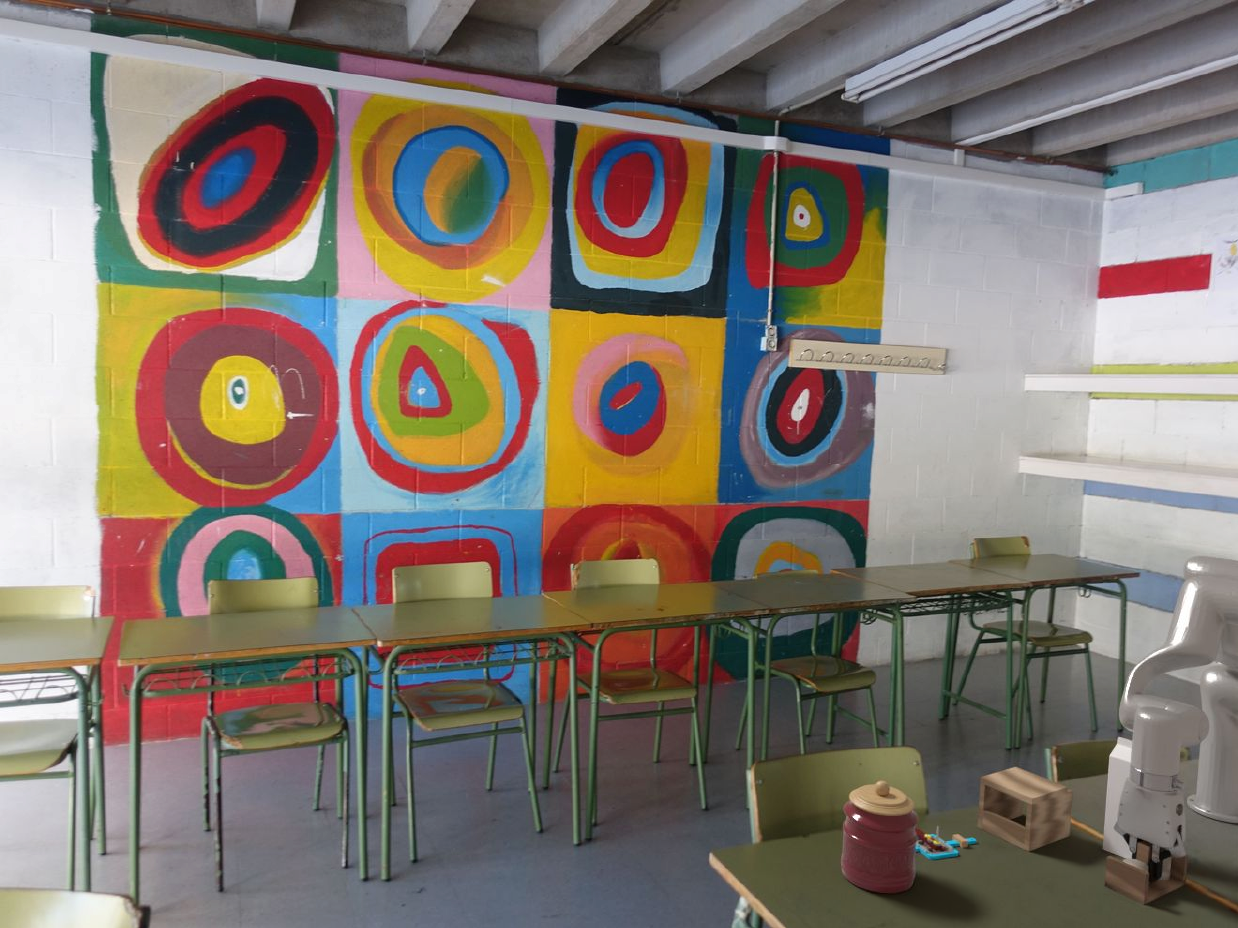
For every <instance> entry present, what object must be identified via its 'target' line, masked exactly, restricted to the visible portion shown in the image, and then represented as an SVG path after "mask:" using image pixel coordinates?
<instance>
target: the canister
mask: <svg viewBox="0 0 1238 928" xmlns="http://www.w3.org/2000/svg"><path fill="white" fill-rule="evenodd" d="M848 798H849V800H848V801H847V802H846V803H845V804H844V805H843V812H844V814H845V816H846V817H845V820H844V821H843V824H842V830H843V837H842V853H841V856H840V865H841V866H840V867H841V873H842V875H843V876H844V878H846V880H848V881H849V882H850V883H851V884H853V885H855V887H858V888H861V889H863V890H866V891H869V892H874V893H879V894H898V893H901V892H904V891H907V890H909V889H910V888H911V887H912V886H913V884H914V880H915V878H916V866H915V865H916V853H917V852H916V842H917V834H916V832H915V829H916V826H917V825H918V824H919V815H918V814H917V813H916V812H915V810H914V809H915V803H914V801H913V799H911V798H910V797H908V795H906V794H905V793H904V792H903V791H902V790H900V789H898V788H895V787H893V786H890V785H889V783H888V782H887V781H885V780H879V781H877V782H876V783H874V784H872V783H871V784H866V785H865V784H864V785H862V786H860V787H858V788H856V789H853V790H852V791H851V792H850V793H849V795H848Z"/></svg>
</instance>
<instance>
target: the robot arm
mask: <svg viewBox="0 0 1238 928" xmlns="http://www.w3.org/2000/svg"><path fill="white" fill-rule="evenodd" d="M1183 575H1184V580H1185V581H1184V582H1183V583H1182V585H1181V587H1180V590H1179V594H1178V597H1177V600H1176V605H1175V607H1174V611H1173V615H1172V618H1171V622H1170V625H1169V628H1168V629H1169V630H1168V632H1167V636H1166V640H1165V642H1164V643H1163V644H1162V645H1161V646H1160V647H1157V648H1156V649H1155V650H1153V651H1151V652H1149V653H1148V654H1147V655H1145V656H1144V657H1143V658H1142V659H1140V660H1139V661H1138V662H1137V664H1135V665H1134V666H1133V668H1132V669H1131V671H1130V672H1129V674H1128V676H1127V680H1126V682H1125V685H1124V688H1123V691H1122V696H1121V700H1120V703H1119V707H1118V717H1119V718H1118V719H1119V721H1120V723H1121V725H1122V726H1123V727H1124V728H1125V729H1126V730H1128V731H1130V732H1132V740H1131V741H1132V752H1131V765H1130V776H1129V777H1128V778H1126V781H1125V783H1124V786H1123V790H1122V793H1121V798H1120V803H1119V809H1118V821H1117V822H1116V824H1115V826H1114V830H1115V831H1116V832H1118V833H1119V834H1120V835H1121V836H1123V838H1124V839H1125V841H1126V842H1127V844H1128V845H1129V850H1130V851H1131V852H1132V859H1136V856H1137V843H1138V842H1141V841H1143V840H1144V841H1147V842H1149V843H1151V844H1153V848H1152V860H1149V863H1148V873H1149V882H1150V883H1152V882H1155V881H1157V880H1159V879H1160V878H1161V877H1162V869H1163V860H1164V859H1166V858H1169V857H1177V858H1181V857H1183V856H1185V855H1187V853H1186V849H1185V847H1184V843H1185V841H1186V808H1185V807H1186V806H1185V800H1184V799H1185V798H1184V795H1183V791H1184V790H1185V788H1186V785H1187V784H1186V782H1185V781H1182V780H1181V779H1180V776H1181V775H1180V774H1179V773H1180V763H1181V762H1180V760H1181V749H1183V748H1184V749H1185V748H1192V747H1195V746H1198V745H1199V744H1200V746H1199V753H1198V754H1199V755H1198V756H1199V757H1198V766H1197V767H1198V769H1197V770H1198V771H1197V778H1196V779H1197V783H1196V793H1194V794H1191V795H1189V796H1188V797H1187V800H1186V803H1187V806H1188V807H1189V809H1191V810H1193V811H1194V812H1196V813H1198V814H1200V815H1202V816H1204V817H1207V818H1210V819H1214V820H1216V821H1220V822H1225V823H1230V824H1238V560H1236V559H1229V558H1224V557H1223V558H1222V557H1216V556H1215V557H1213V556H1208V555H1207V556H1206V555H1196V556H1192V557H1189V558H1188V559H1186V561H1185V563H1184V565H1183ZM1212 663H1216V664H1217V665H1216V664H1215V665H1212V666H1208V665H1211V664H1212ZM1204 666H1208V667H1207V668H1205V669H1204V671H1202V674H1201V676H1200V679H1199V680H1200V683H1199V687H1200V688H1199V689H1200V697H1201V698H1200V699H1201V708H1199V707H1197V706H1196V705H1193V704H1189V703H1185V702H1180V701H1176V700H1172V699H1169V698H1165V697H1160V696H1156V695H1151V694H1147V693H1146V690H1147V688H1148V686H1149V685H1150V683H1151V682H1153V680H1155V679H1157V678H1158V677H1160V676H1162V675H1165V674H1168V673H1170V672H1174V671H1175V672H1176V671H1179V670H1185V669H1191V668H1197V667H1198V668H1199V667H1204Z"/></svg>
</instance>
